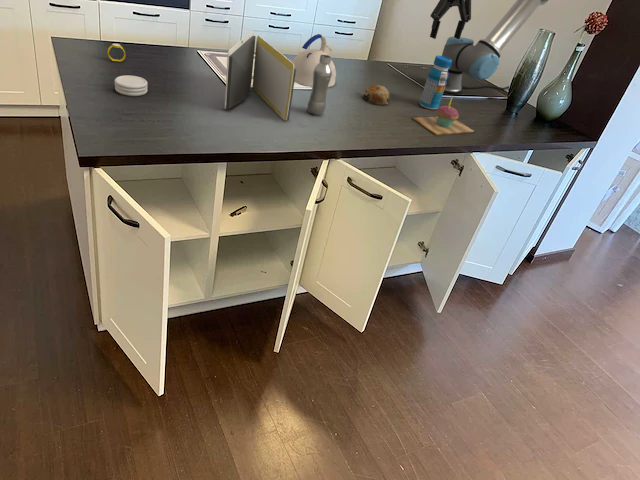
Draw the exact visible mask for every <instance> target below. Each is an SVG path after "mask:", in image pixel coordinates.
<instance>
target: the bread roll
mask: <svg viewBox="0 0 640 480" xmlns="http://www.w3.org/2000/svg"><path fill="white" fill-rule="evenodd" d="M363 97H364V99H365V101H367V102H369V103H371V104H374V105H378V106H379V105H380V106H384V105H388V104H389V100H390V91H389V90H388V88H386V87H385V86H384V85H381V84H374V85H371V86H369V87H368V88H366V89H365V91H364V94H363Z"/></svg>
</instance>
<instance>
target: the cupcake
mask: <svg viewBox="0 0 640 480" xmlns="http://www.w3.org/2000/svg"><path fill="white" fill-rule="evenodd" d="M453 97H454V94H451V96H450V100H449V102H448V105H441V106H439V107H438V109H436V115H437V117H438V124H439V125H441V126H444V127H450V125H451V124H452V123H453V122H454V121H455V120H458V119H459V116H460V114H459V111H458V110H457V109H456V108H455V107H453V106H451V105H452V101H453Z"/></svg>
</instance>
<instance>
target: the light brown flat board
mask: <svg viewBox="0 0 640 480" xmlns="http://www.w3.org/2000/svg"><path fill="white" fill-rule="evenodd" d="M412 120H413V121H415V122H416V123H417V124H418V125H420V126H422V128H425V129H427V130H428V132H431V133H432V134H433V135H434V136H441V135H454V134H456V135H458V134H470V133H475V130H474V129H472V128H471V127H469V126H467V125H465V124H464V123H462V122H461V121H459V120H458V119H456V120H455V121H454V122H453V123H452V124H451V125H450V127H444V126H441V125H439V124H438V116H422V117H412Z"/></svg>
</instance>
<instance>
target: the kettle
mask: <svg viewBox="0 0 640 480" xmlns="http://www.w3.org/2000/svg"><path fill="white" fill-rule="evenodd" d="M319 39H320V41H321V42H320V48H319V49H314V48H312V49H308V48H309V47H310V46H311V44H313V43H314V42H315V41H317V40H319ZM301 48H302V49H304V50H303V51H301V52H299V53H298V54H296V56H294V58H293V59H292V60H291V62H292V63H293V64H294V68H295V69H296V74H295V81H294V83H297V84H301V85H303V86H307V87H311V88H312V87H313V72H314V68H315V67H316V66H317V65H318V64H319V63H320V61H319V59H320V56H321V55H328V56H330V54H331V52H332V48H331V47H330V46H329V45H327V39H326V37H325V35H323V34H320V33H317V34H315V35H313V36H311V37H310V38H309V39H308V40H307V41H306V42H304V44H303V45H302V46H301ZM329 65H330V68H331V71H332V75H331V79H330V82H329V85H328V88H331V87H333V86H334V85H336V79H337V78H336V77H337V71H336V67H335V64H334V62H333V60H332V59H331V60H330V63H329Z"/></svg>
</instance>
